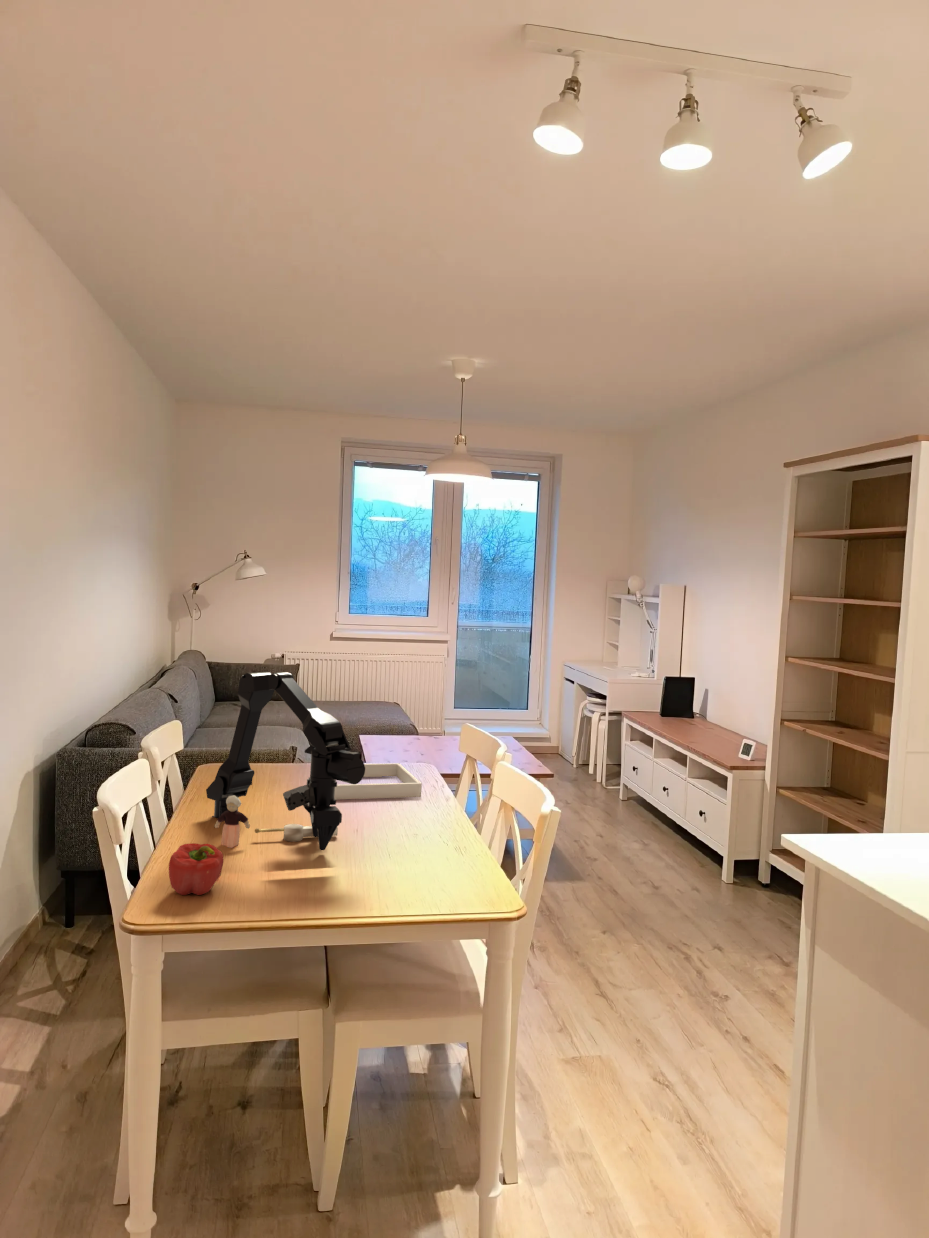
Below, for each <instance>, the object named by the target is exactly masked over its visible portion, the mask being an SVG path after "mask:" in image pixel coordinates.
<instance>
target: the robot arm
mask: <svg viewBox="0 0 929 1238" xmlns="http://www.w3.org/2000/svg"><path fill="white" fill-rule="evenodd" d="M237 691H238V692H237V696H238V699H239V702H240V704H241V706H240V710H239V714H238V717H237V721H236V725H235V729H234V734H233V738H232V742H231V745H230V749H229V753H228V757H227V758H226V759H225V760H224V762H223V763H222V764H221V765H220V766H219V768H218V771H217V772H216V774H215V777H214V779H213V781H212V782H211V784H209V786H208V787H207V788H206V790H205V791H206V792H205V793H206V797H207V799H209V800H212V801H214V812H213V815H212V816H211V818H216V819H218V818H219V817H220V815H221V814H222V813H223V812H225V811H228V809H227V804H226V800H227V798H228V797H229V796H233V795H235V796H236V797H238V798H239V799H240V797H245V796H246V797H247V794H248V791H249V788H250V786H252V785H253V778H254V776H255V770H254V769H252V767H251V765H250V762H249V760H250V757H251V754H252V753H251V752H252V749H253V745H254V741H255V738H256V733H257V730H258V727H259V721H260V718H261V714H262V710H263V709H264V708H265V707H266V705H267V704H268V703H269V702H270V701H271V700H272V697H273V695H274V693H275V692H276V694H278V696H279V697H280V698H281V699H282V701H283V702H284V703H285V704H286V705H287V707H288V708H289V709H290V710H291V711H292V713H293V714H294V715H295V716H296V717H297V719H298V720H299V721H300V722H301V724H302V733H303V734H304V736H305V737H306V739H307V741H308V742H309V744H310V746H308V747H307V748H305V749H304V753H305V754H308V755H310V771H309V772H310V773H309V777H308V778H307V779H306V784H304V785H300V786H297V787H295V788H292V789H289V790H286V791H284V792H283V793H282V796H283V799H284V802H285V805H286V808H287V809H288V812H289V811H294V810H296V809H297V808H299V807H303V808H304V809H305V810H306V812H308V814H309V817H310V826H312V831H313V836H314V837H313V838H318V845H319V850H320V851H325V850H326V849H327V847H328V845H329V843H330V841H331V839H332V837H333V836H332V835H333V833H334V832H335V830H336V828H337V827H338V828H339V826H340V824H342V820H343V819H342V818H343V814H342V812H341V810H340V809H339V808H338V807H337V806H336V805H337V800H335V798H334V795H335V787H337V785H338V781H340V782H343V783H345V784H346V783H347V784H360V782H362V780H363V778H364V777H363V776H364V774H365V766H364V764H365V763H364V761H363V759H361V758H360V752H355V751H354V752H353V751H352V747H351V746H350V742H349V741H348V739H347V736H346V734H345V732H344V730H343V729H344V727H343V725H342V723H341V722H340V721H339V720H338V719H337V718H336V717H334V716H333V715H332V714H330V713H328V712H326V711H323V710H321V709H320V708H319V707H318V706H317V705H316V703H315V702H314V701H313V700H312V699H311V698H310V697H309V695H308V694H307V692H305V691H304V689H303V688H302V687H301V685H299V684H298V682H297V681H295V679H294V675H293V674H292V673H290V672H287V671H284V672H283V671H282V672H274V673H271V672H269V671H261V672H247V673H246V672H245V674H242V675H241V676H240V678H239V682H238V690H237ZM236 811H239V808H238V809H237V810H236Z"/></svg>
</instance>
